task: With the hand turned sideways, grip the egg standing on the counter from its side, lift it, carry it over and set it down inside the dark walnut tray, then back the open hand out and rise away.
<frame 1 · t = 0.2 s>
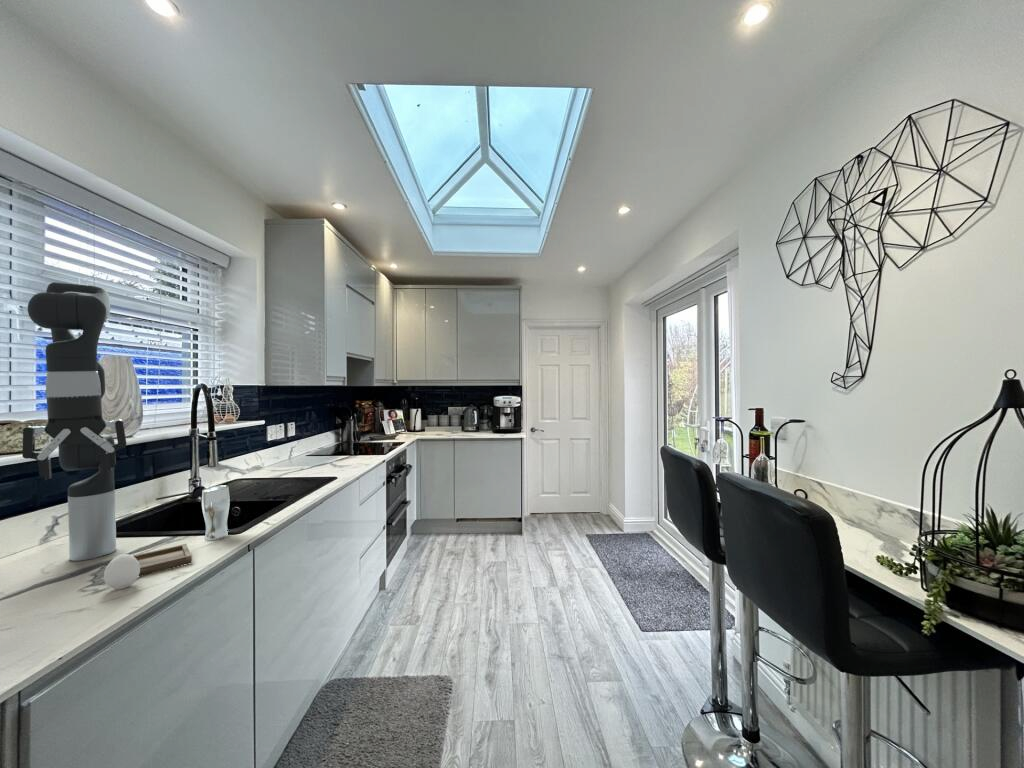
hand: (79, 474, 83), 29 cm above the worktop, tool pointing down, fingers open, 8 cm apart
walnut tray: (159, 563, 107), on the worktop
egg: (122, 588, 94), on the worktop
beer glass: (216, 537, 126), on the worktop
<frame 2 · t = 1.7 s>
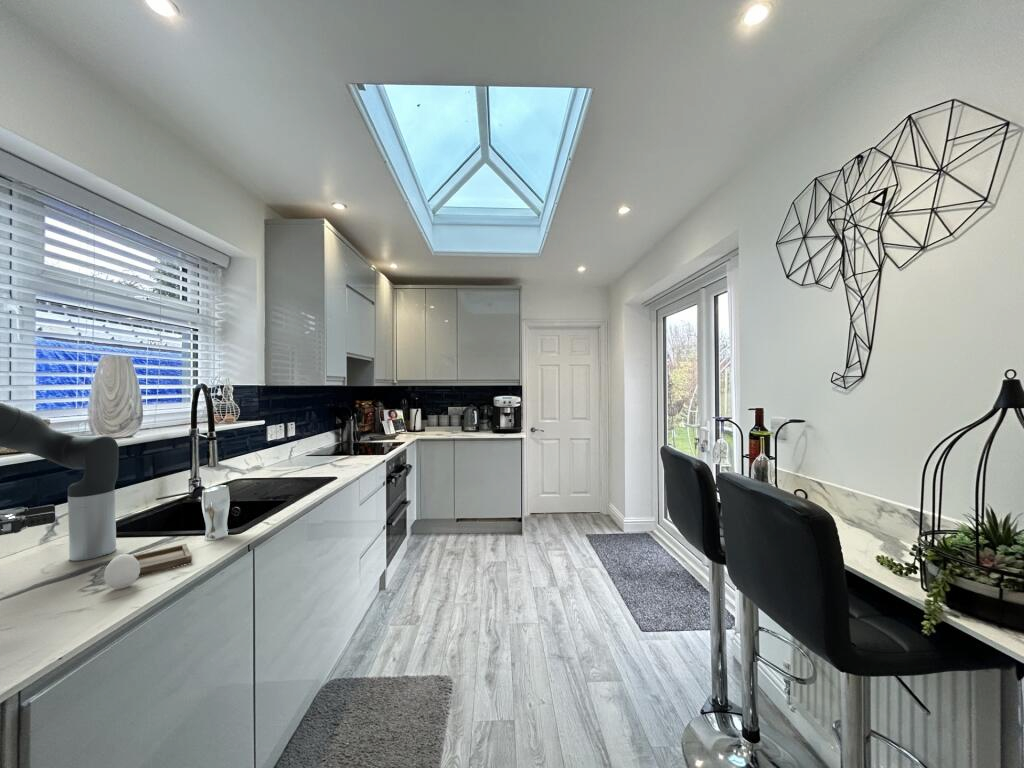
hand: (55, 513, 87), 20 cm above the worktop, tool horizontal, fingers open, 8 cm apart
nothing on the worktop moved.
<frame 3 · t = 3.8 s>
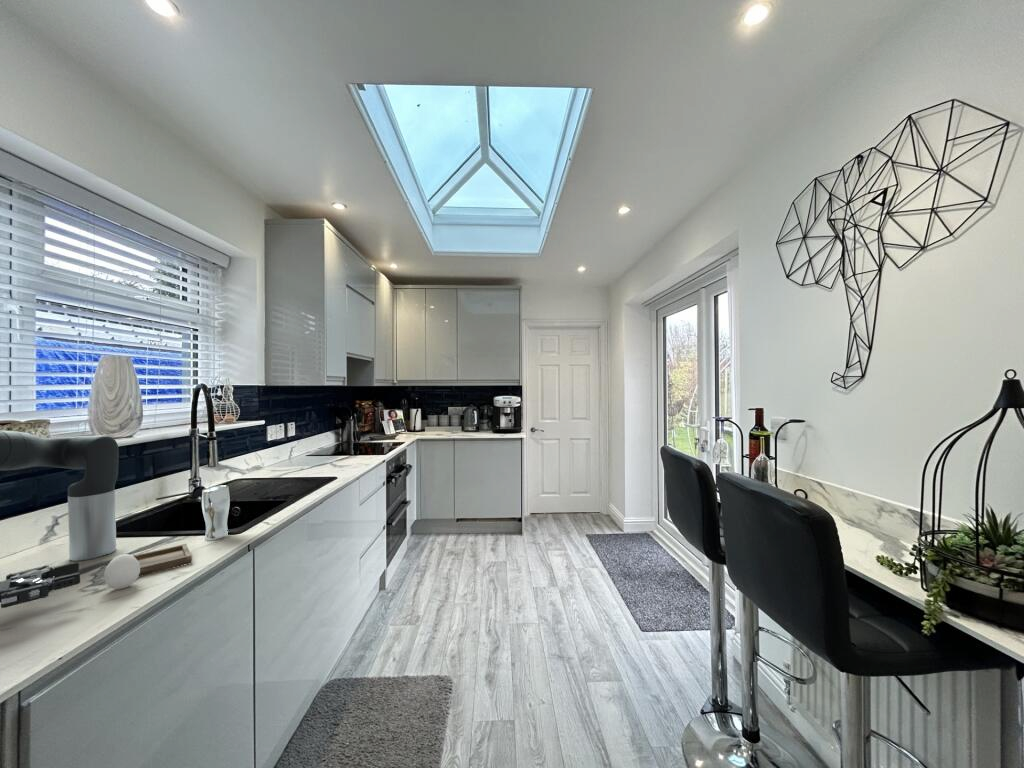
hand: (79, 572, 90), 6 cm above the worktop, tool horizontal, fingers open, 8 cm apart
nothing on the worktop moved.
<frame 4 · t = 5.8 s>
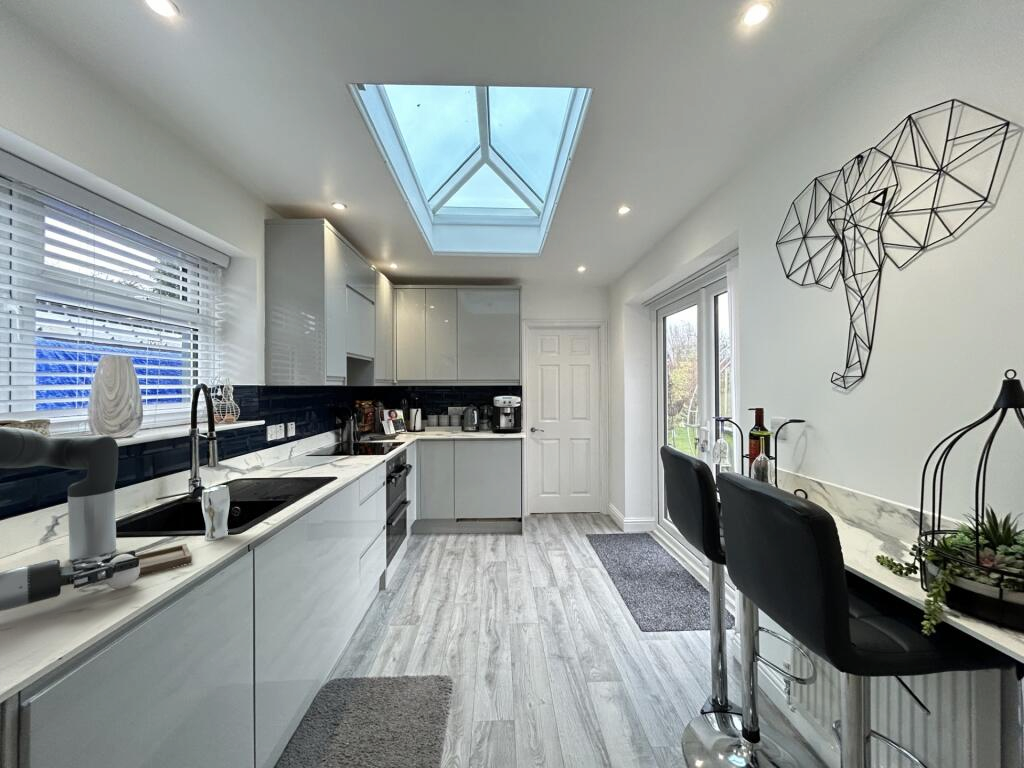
hand: (136, 557, 96), 6 cm above the worktop, tool horizontal, fingers closed on egg, 5 cm apart
egg: (122, 588, 94), on the worktop, touching gripper
everything else where it was.
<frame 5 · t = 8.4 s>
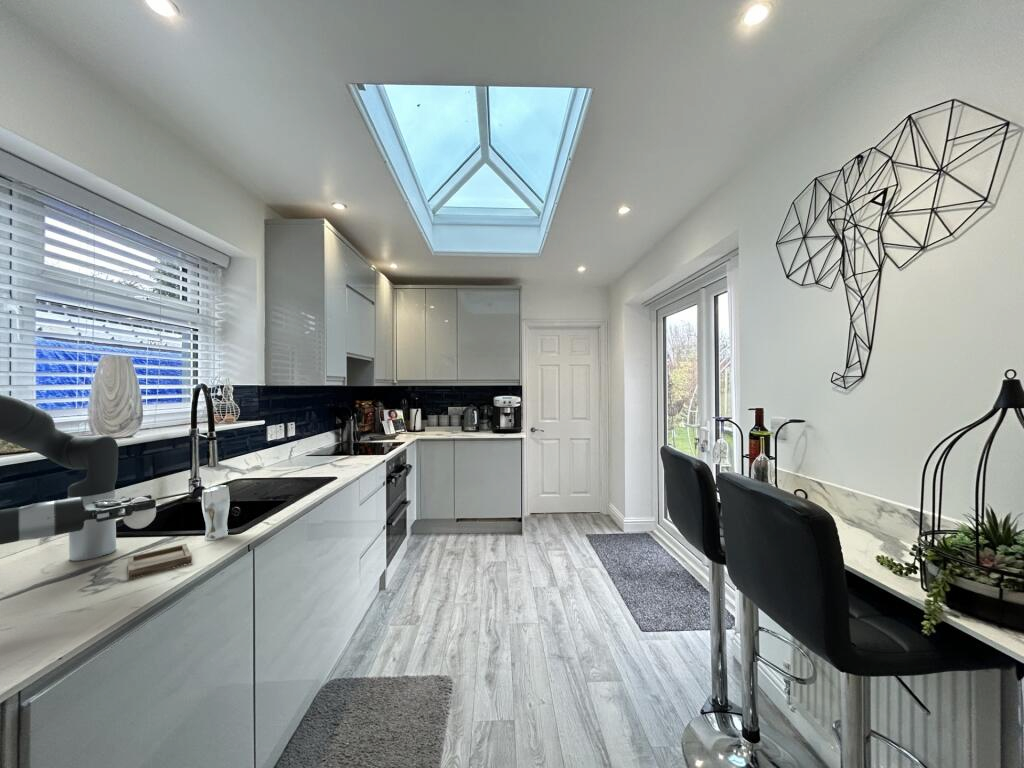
hand: (153, 501, 102), 18 cm above the worktop, tool horizontal, fingers closed on egg, 5 cm apart
egg: (140, 528, 101), point 11 cm above the worktop, touching gripper
everything else where it was.
when the fingers open (8 cm above the worktop, at t = 11.2 s): egg drops 1 cm, resting on walnut tray.
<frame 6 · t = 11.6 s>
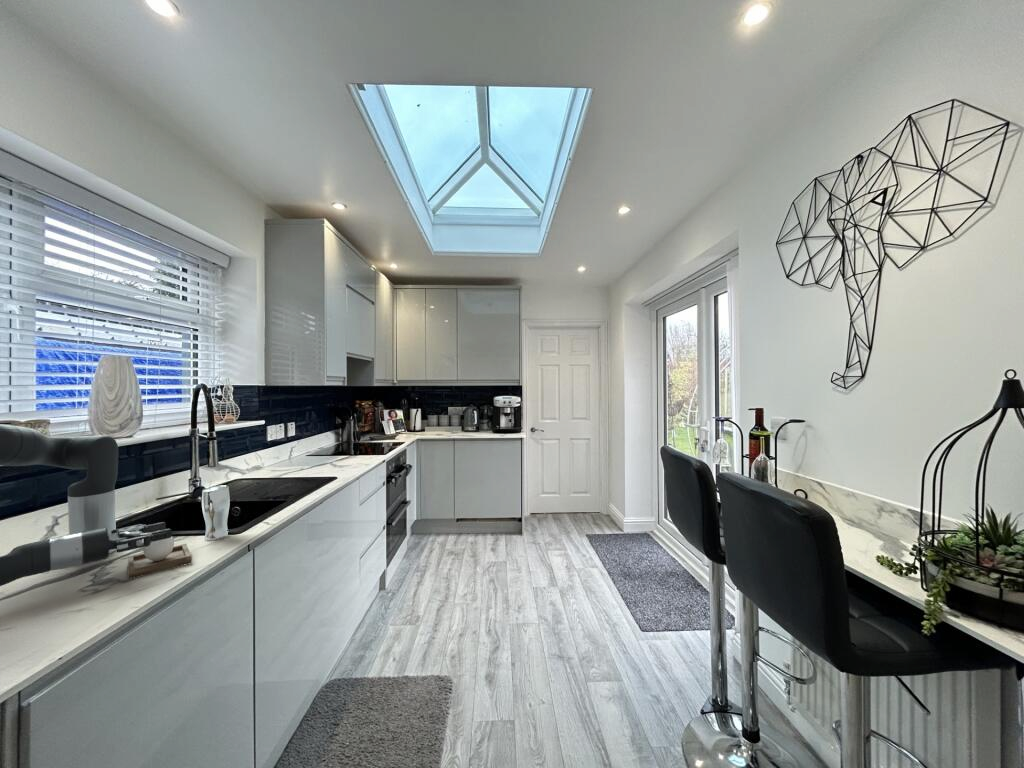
hand: (168, 529, 109), 8 cm above the worktop, tool horizontal, fingers open, 8 cm apart
egg: (158, 561, 107), point 1 cm above the worktop, touching walnut tray
everything else where it was.
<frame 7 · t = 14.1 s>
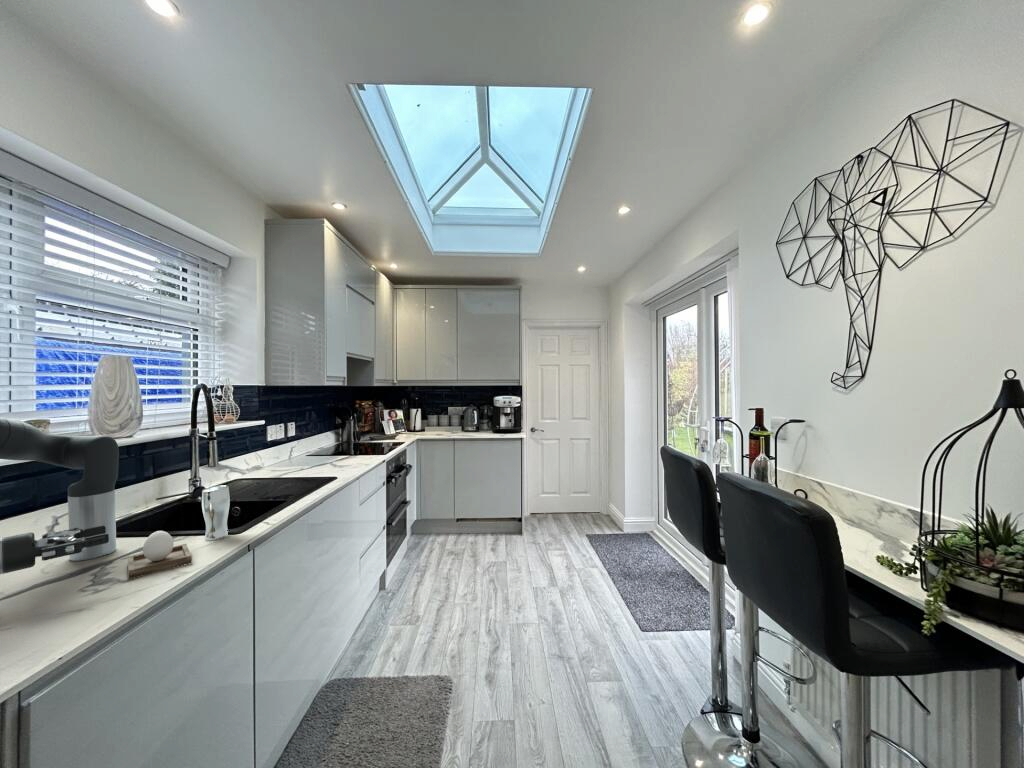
hand: (107, 533, 100), 11 cm above the worktop, tool horizontal, fingers open, 8 cm apart
nothing on the worktop moved.
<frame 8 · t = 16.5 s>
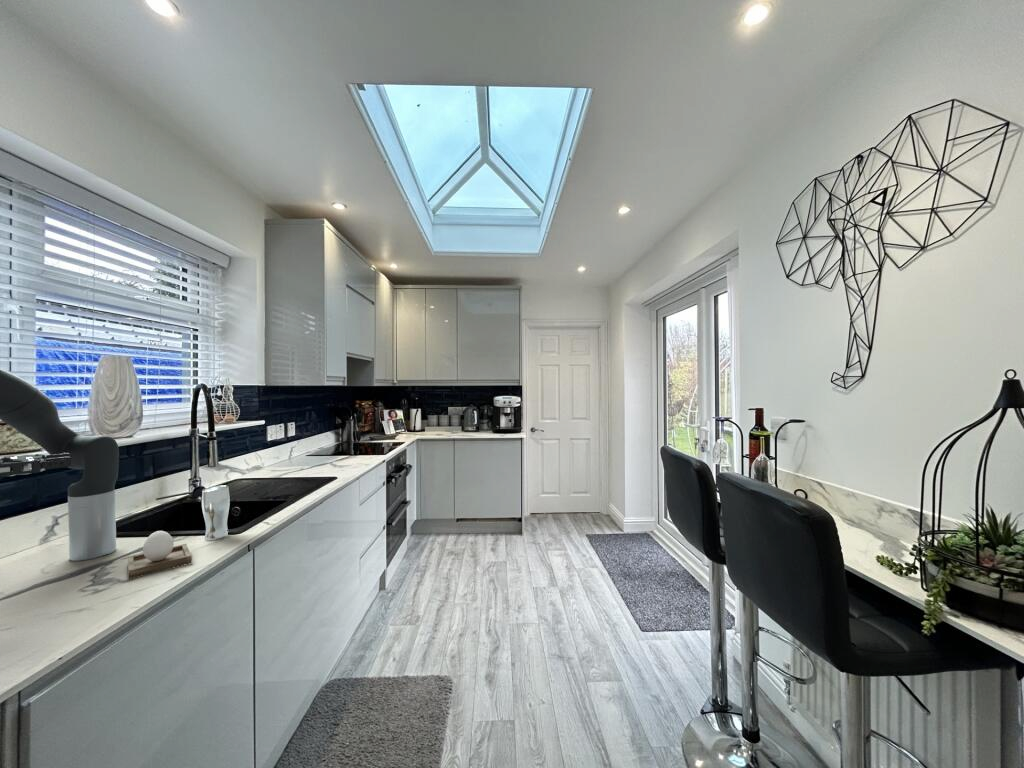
hand: (70, 459, 94), 30 cm above the worktop, tool horizontal, fingers open, 8 cm apart
nothing on the worktop moved.
at the end: egg inside the target area on the walnut tray (0.3 cm from its centre), point 0.8 cm above the walnut tray's base; egg touching walnut tray; the gripper is holding nothing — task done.
